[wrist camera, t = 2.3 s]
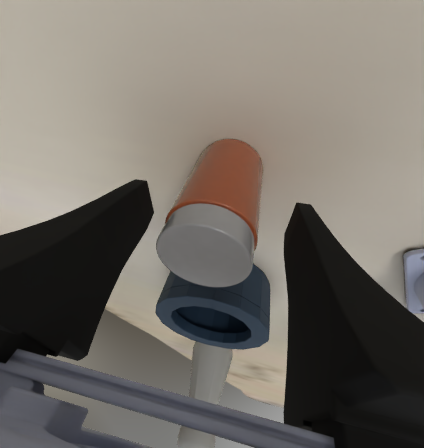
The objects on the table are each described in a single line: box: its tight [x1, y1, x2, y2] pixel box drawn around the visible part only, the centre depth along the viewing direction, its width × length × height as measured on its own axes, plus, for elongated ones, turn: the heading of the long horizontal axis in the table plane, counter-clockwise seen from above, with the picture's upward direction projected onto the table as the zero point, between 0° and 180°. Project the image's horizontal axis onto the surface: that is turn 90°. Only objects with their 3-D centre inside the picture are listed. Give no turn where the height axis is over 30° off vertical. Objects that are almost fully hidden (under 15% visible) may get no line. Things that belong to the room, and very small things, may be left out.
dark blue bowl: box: [156, 264, 270, 349], centre depth 20 cm, size 10×10×5 cm
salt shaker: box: [177, 341, 232, 448], centre depth 28 cm, size 6×6×13 cm
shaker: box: [156, 139, 263, 287], centre depth 11 cm, size 4×4×7 cm
